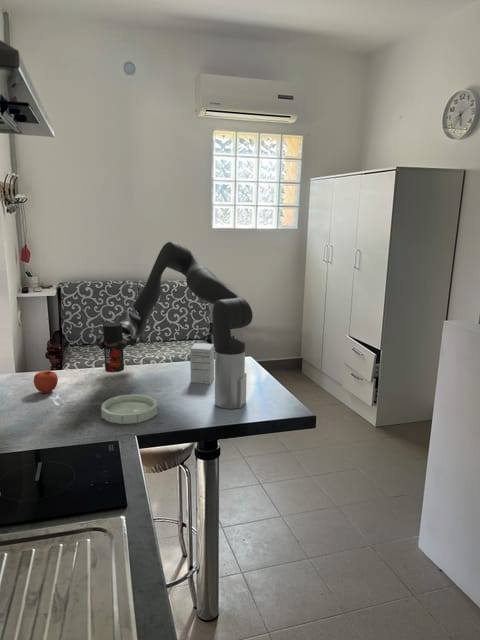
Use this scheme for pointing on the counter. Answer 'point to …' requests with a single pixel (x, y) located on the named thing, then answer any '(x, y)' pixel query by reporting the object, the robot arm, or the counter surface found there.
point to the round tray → (129, 409)
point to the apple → (45, 381)
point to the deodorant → (113, 347)
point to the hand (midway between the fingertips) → (111, 346)
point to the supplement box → (202, 363)
